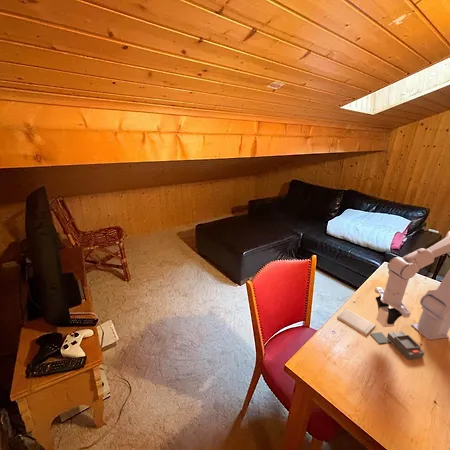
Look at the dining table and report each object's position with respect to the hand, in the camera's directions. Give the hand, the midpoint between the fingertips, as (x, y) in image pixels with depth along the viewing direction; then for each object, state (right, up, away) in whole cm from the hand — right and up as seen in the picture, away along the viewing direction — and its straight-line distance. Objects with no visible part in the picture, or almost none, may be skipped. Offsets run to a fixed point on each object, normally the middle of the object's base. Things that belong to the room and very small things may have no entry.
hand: (385, 319), depth 91 cm
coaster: (0, -9, +4) cm, 10 cm away
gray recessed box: (+7, -11, 0) cm, 12 cm away
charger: (0, -2, +1) cm, 2 cm away
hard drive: (-5, -7, +12) cm, 14 cm away
